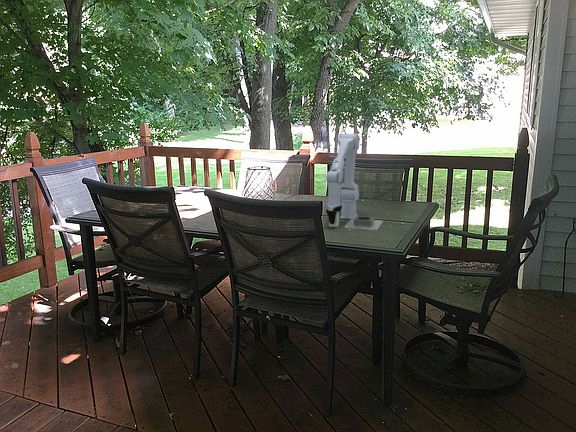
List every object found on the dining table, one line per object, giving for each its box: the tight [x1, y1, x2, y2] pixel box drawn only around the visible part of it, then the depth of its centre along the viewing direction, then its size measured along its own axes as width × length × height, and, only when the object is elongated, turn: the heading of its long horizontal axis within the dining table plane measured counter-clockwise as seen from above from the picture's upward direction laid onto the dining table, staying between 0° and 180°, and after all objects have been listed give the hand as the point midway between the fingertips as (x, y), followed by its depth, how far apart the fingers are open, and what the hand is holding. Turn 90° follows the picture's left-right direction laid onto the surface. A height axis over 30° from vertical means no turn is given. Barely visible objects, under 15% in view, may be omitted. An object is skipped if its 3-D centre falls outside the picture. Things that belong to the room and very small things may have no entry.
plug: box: [328, 211, 340, 228], centre depth 252 cm, size 4×4×7 cm
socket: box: [344, 215, 383, 231], centre depth 252 cm, size 16×16×4 cm
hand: (334, 222), depth 252 cm, fingers open, 7 cm apart
